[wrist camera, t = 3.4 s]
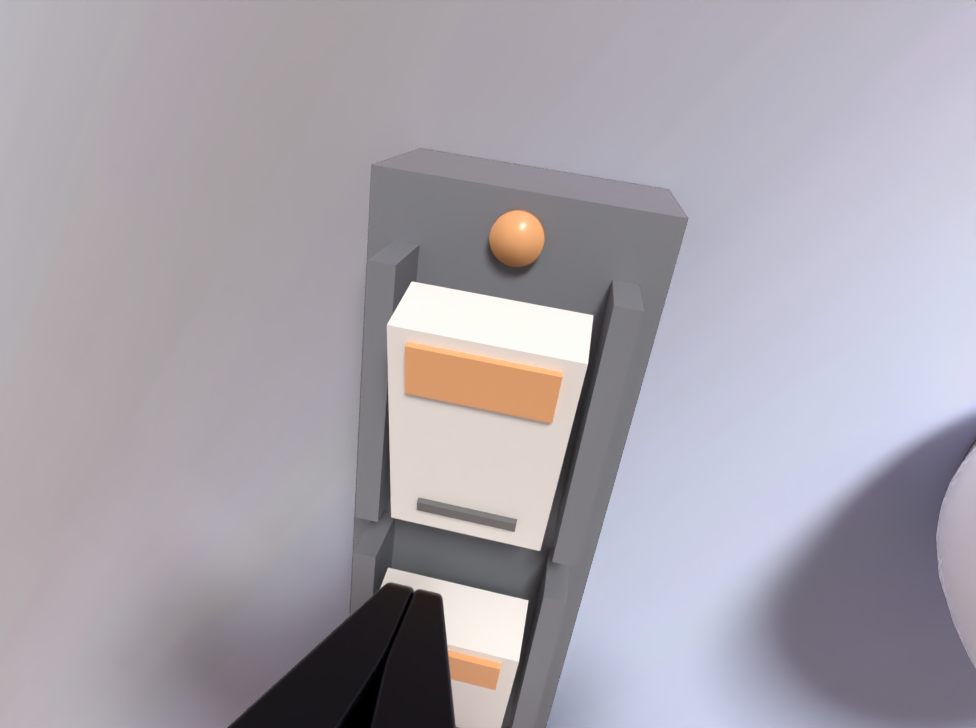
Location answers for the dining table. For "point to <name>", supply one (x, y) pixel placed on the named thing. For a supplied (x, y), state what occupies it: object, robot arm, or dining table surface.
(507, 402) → the block
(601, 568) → the dining table surface
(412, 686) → the robot arm
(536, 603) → the rocker switch panel
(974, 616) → the lidded jar
